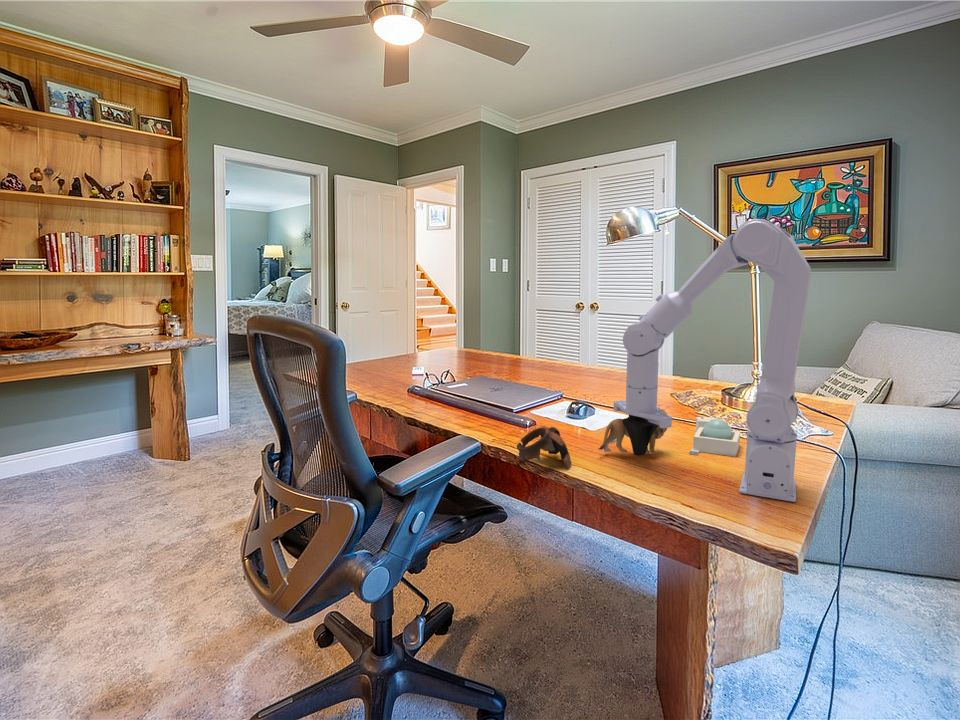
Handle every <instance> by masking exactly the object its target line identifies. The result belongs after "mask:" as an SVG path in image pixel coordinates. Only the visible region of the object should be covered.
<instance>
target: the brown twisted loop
mask: <svg viewBox="0 0 960 720" xmlns="http://www.w3.org/2000/svg"><path fill="white" fill-rule="evenodd" d="M539 437H540V439H539V440H537V441H535V442H534V443H532V444H530V445H528V444H529V443H530V442H532V441H533V440H534V439H537V438H539ZM516 449H517V450H518V460H520V461H521V462H522V463H525V461H531V460H533V459H535V460H538V461H541V450H542V451H544V452H548V454H549V455H552V454H553V455H558V454H559V455H560V459H561V461H563V464H565V470H569V469H570V468H571V466H572V460H571V456H570V453H569V450H568V447H567V445H566V442H565V441H564V439H563V438H562V437H561V433H560V431H559V430H558V428H556V427H554V426H551V427H547V426H540V427H536V428H534V429H533V430H531V431H529V432H527V433H526V434H525V435H524V436H523V437H522V438H521V439H520V442H518V443H517V445H516Z"/></svg>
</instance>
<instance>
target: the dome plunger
mask: <svg viewBox="0 0 960 720" xmlns="http://www.w3.org/2000/svg"><path fill="white" fill-rule="evenodd" d="M731 431H732V426H731V425H729V424H728V422H726V420H724V419H721V418H716V419H713V420H711V421H709V422H708V423H707V424H704V435H703V437H710V438H718V439H726V440H731Z"/></svg>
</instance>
